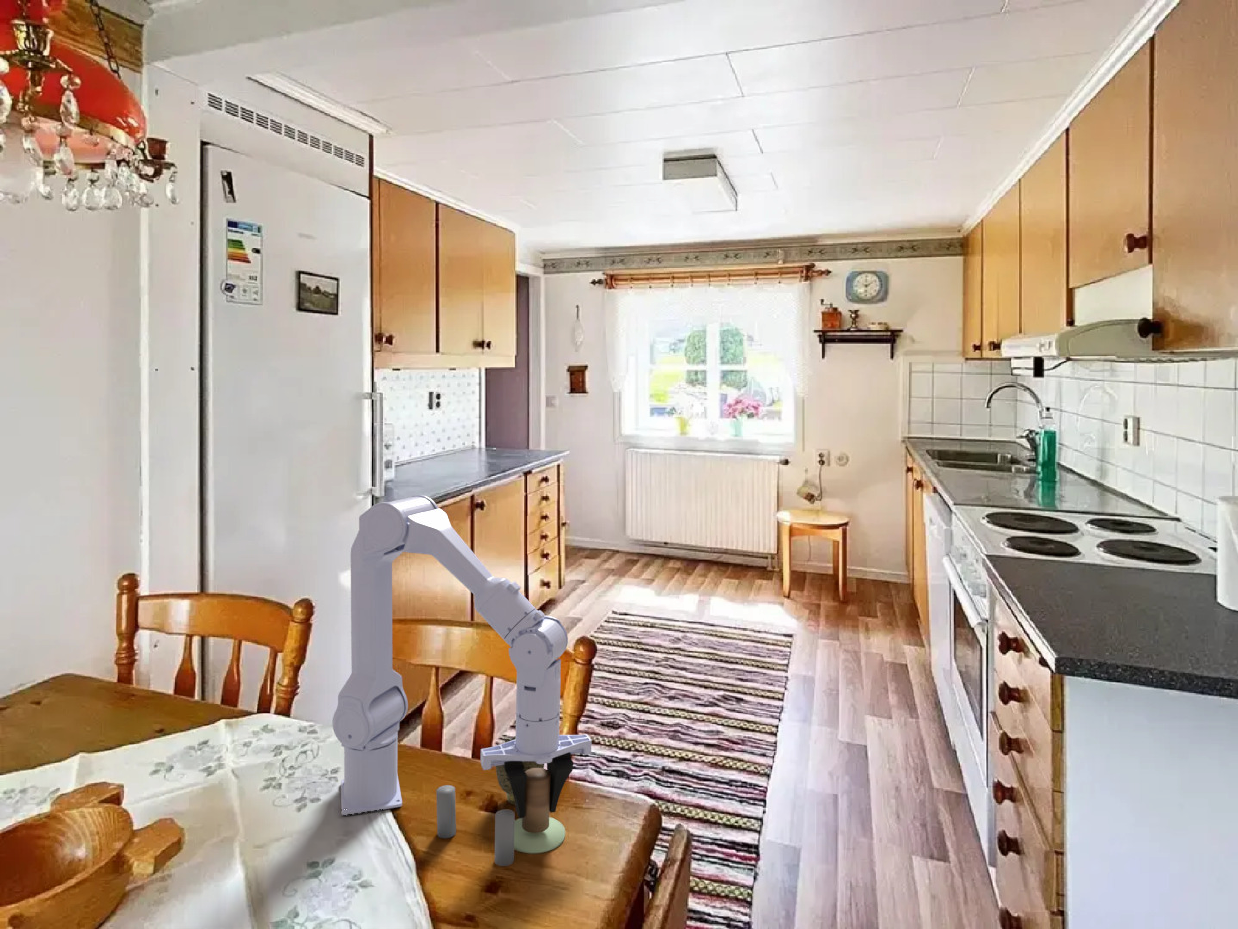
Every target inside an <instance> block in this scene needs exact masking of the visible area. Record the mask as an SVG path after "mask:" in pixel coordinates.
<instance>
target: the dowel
mask: <svg viewBox="0 0 1238 929" xmlns="http://www.w3.org/2000/svg"><path fill="white" fill-rule="evenodd" d="M525 772H526V774H527V779H526V786H525V817H524V818H522V828H523V829H524V830H525V831H527V832H530V833H540V832H543V831H545V830H546V829H548V827H549V817H550V814H551V813H550V777H551V774H550V772H549V771H548V770H547V768H544V769H543V768H532V769H528V770H526V771H525Z"/></svg>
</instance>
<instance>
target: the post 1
mask: <svg viewBox="0 0 1238 929" xmlns="http://www.w3.org/2000/svg"><path fill="white" fill-rule="evenodd" d="M435 792H436V794H435V795H436V830H437V833H436V834H437V837H438V838H440V839H450V838H453V837H454V836H456V834H457V821H456V820H457V819H456V818H457V816H456V815H457V814H456V811H457V810H456V787H455V786H453V785H449V784H446V785H442V786H439V787H437V789H436V790H435Z"/></svg>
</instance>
